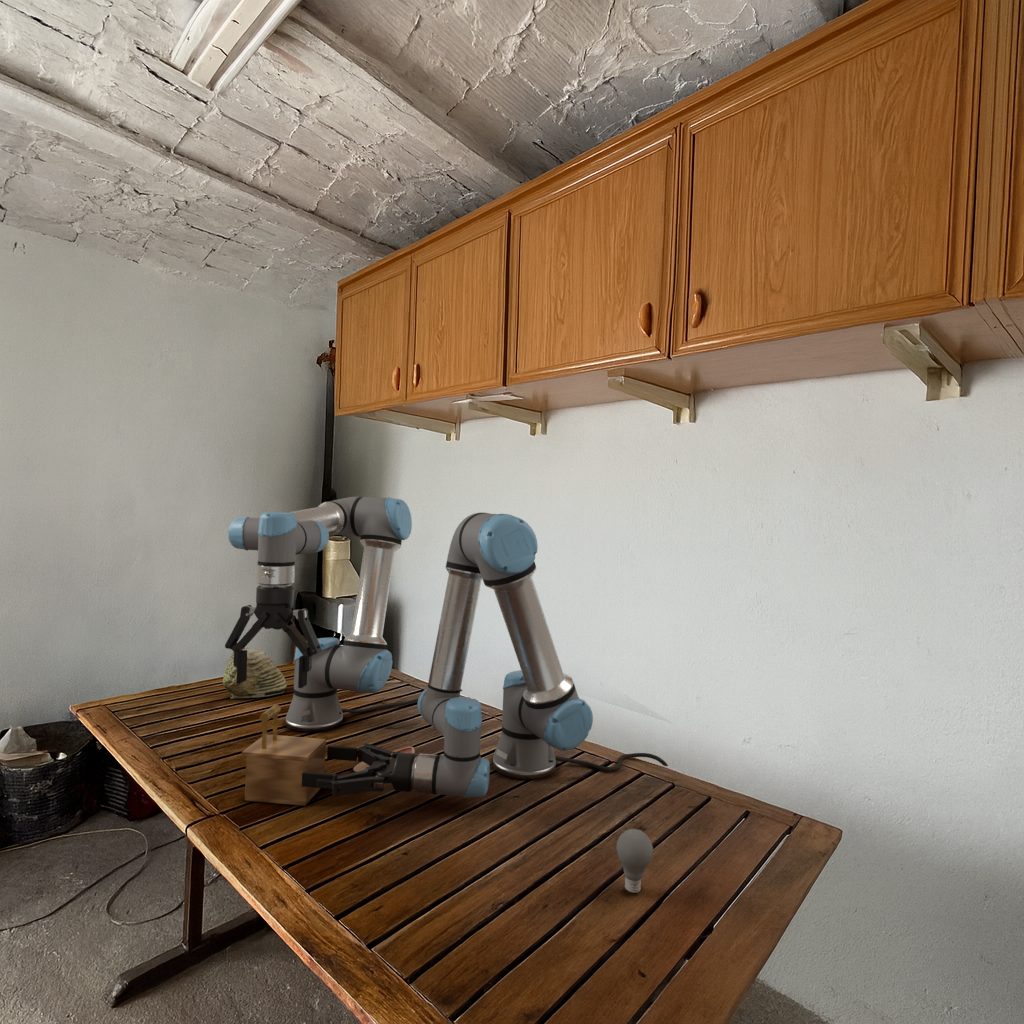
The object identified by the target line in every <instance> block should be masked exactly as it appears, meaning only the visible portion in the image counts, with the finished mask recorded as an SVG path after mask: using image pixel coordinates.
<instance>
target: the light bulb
mask: <svg viewBox="0 0 1024 1024" xmlns="http://www.w3.org/2000/svg"><path fill="white" fill-rule="evenodd" d="M615 849H616V854H617V857H618V859H619V861H620V863H621V865H622V867H623V873H624V874H623V875H624V876H625V878H624V888H625V890H627V891H628V892H630V893H634V894H635V893H639V892H640V891H641V889H642V887H641V886H642V879H643V877H644V875H645V871H646V868H647V867H648V866H649V864H650V863H651V861H652V859H653V855H654V847H653V843H652V841H651V838H649V836H648V835H647V834H646V833H645V832H643V831H642V830H641V829H636V828H629V829H627V830H625V831H623V832H622V833H621V834H620V835H619V837H618V839H617V841H616V847H615Z"/></svg>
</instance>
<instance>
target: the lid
mask: <svg viewBox="0 0 1024 1024" xmlns="http://www.w3.org/2000/svg"><path fill="white" fill-rule="evenodd" d="M281 710H282V708H281V706H280V705H279V704H274V705H272V706H271V707H270V708H268V709H267V710H265V711H263V712H262V713H261V714H260V715H259V720H260V721H261V723H262V729H261V730H262V733H261V734H262V735H261V737H260V738H258V739H257V740H256V741H254V742H253V743H252V744H250V745H249V746H248V747H246V748H245V749H244V750H243V751H241V757H246V756H250V757H262V758H274V759H286V760H298V761H308V760H309V759H310V758H311V757H312V756H313V755H314V754H315V753H316V752H317V751H318V750H319V749H320V748H321V747H322V746H323V745H324V744H325V743H326V744H327V739H326V738H319V737H318V738H317V737H305V736H294V735H279V734H278V717H279V713H280V712H281ZM271 719H272V722H273V723H272V734H270V733H269V734H268V721H270V720H271Z"/></svg>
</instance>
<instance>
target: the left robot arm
mask: <svg viewBox="0 0 1024 1024" xmlns="http://www.w3.org/2000/svg"><path fill="white" fill-rule="evenodd" d="M412 527H413V520H412V514H411V509H410V507H409V506H408V504H407V503H406V501H405V500H403V499H400V498H393V497H389V496H388V497H379V496H378V497H376V496H371V497H370V496H349V497H344V498H338V499H334V500H330V501H324V502H322V503H320V504H319V505H318V506H317V507H311V508H305V509H300V510H299V509H298V510H294V511H293V510H292V511H287V512H277V511H276V512H272V511H270V512H269V511H265V512H262V513H261V514H260V516H259V517H251V516H245V517H236V518H235V519H233V521H231V523H230V524H229V526H228V530H227V533H228V536H227V539H228V541H229V543H230V545H231V546H232V547H233V548H234V549H239V550H244V551H257V567H256V568H257V569H256V570H257V571H256V584H258V585H257V587H256V591H255V592H256V593H255V603H256V605H255V606H253V605H252V604H247V605H244V606H242V607H241V608H240V614H239V617H238V620H237V621H236V623H235V625H234V627H233V629H232V631H231V633H230V635H229V636H228V638H227V641H225V644H224V647H225V649H226V650H227V649H229V650H231V651H232V652H234V667H237V683H238V684H240V683H242V682H244V681H246V676H247V650H243V649H245V647H247V645H248V644H249V643H250V642H251V641H253V639H254V638H255V637H256V636H257V634H258V633H259V632H260V631H261V630H262V629H263V628H264V630H269V629H273V630H276V631H277V630H282V631H283V632H284V633H286V635H287V636H288V637H289V639H290V640H291V641H292V643H293V644H294V645H295V646H296V647H295V652H294V653H295V654H294V659H293V660H294V672H293V695H292V696H293V697H292V699H291V702H290V704H289V708H288V711H287V713H286V715H285V726H286V728H287V729H289V730H291V731H294V732H295V731H296V732H301V733H316V732H325V731H329V730H332V729H335V728H337V727H339V726H340V725H342V723H343V722H344V713H349V714H362V713H367V712H370V711H374V710H379V709H383V708H384V709H385V708H392V707H400V706H405V705H409V704H413V703H418V699H419V697H418V698H414V699H411V700H405V701H402V702H401V701H400V702H394V703H386V704H379V705H373V706H369V707H366V708H362V709H350V708H342V706H341V702H340V699H339V695H338V690H342V691H350V692H358V693H359V694H376V693H378V692H380V691H381V690H382V689H383V688H384V686H385V685H386V683H387V682H388V680H389V678H390V675H391V673H392V668H393V654H392V652H390V651H389V650H388V649H387V646H388V643H387V642H386V640H385V638H384V637H383V635H384V628H385V621H386V616H387V615H386V614H387V608H388V600H389V595H390V587H391V580H392V573H393V566H394V561H395V560H394V559H395V553H396V551H398V550H399V549H400V548H401V547H402V542H403V541H405V540H408V539H409V537H410V536H411V533H412V529H413V528H412ZM338 535H339V536H351V537H358V538H359V543H360V544H361V546H362V547H363V553H362V559H361V560H362V561H361V566H360V573H359V578H358V579H359V580H358V585H357V592H356V599H355V603H354V612H353V617H352V623H351V630H350V634H349V635H348V636H346V637H345V638H344V639H343V645H340V644H341V641H340V639H339V638H337V637H320V638H319V637H317V635H316V633H315V631H314V628H313V626H312V624H311V621H310V619H309V610H308V608H306V607H304V608H302V609H295V608H294V602H295V601H294V600H295V599H294V598H295V587H294V585H293V584H294V583H295V579H296V578H295V572H296V571H295V570H296V569H295V567H296V566H295V565H296V555H307V554H310V555H312V554H315V553H319V552H321V551H323V550H324V549H325V548H326V547H327V546H328V544H329V540H330V537H331V536H338ZM253 615H254V616H255V617H256V619H257V620H256V621H255V622H254V623H253V624H252V626H251V627H250V629H248V631H247V632H246V633H245V634H244V635H243V636H242V634H243V632H244V631H245V629H246V626H247V625H248V623H249V621H250V619H251V617H252V616H253ZM293 617H295V619H296V620H297V622H298V625H299V627H300V629H301V631H302V634H303V635H302V634H301V632H300V631H299V630H298V628H297V627H296V626H297V625H296V624H295V622H294V621H293ZM241 636H242V637H241ZM303 636H304V637H303ZM460 692H463V689H461V690H460Z"/></svg>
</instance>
